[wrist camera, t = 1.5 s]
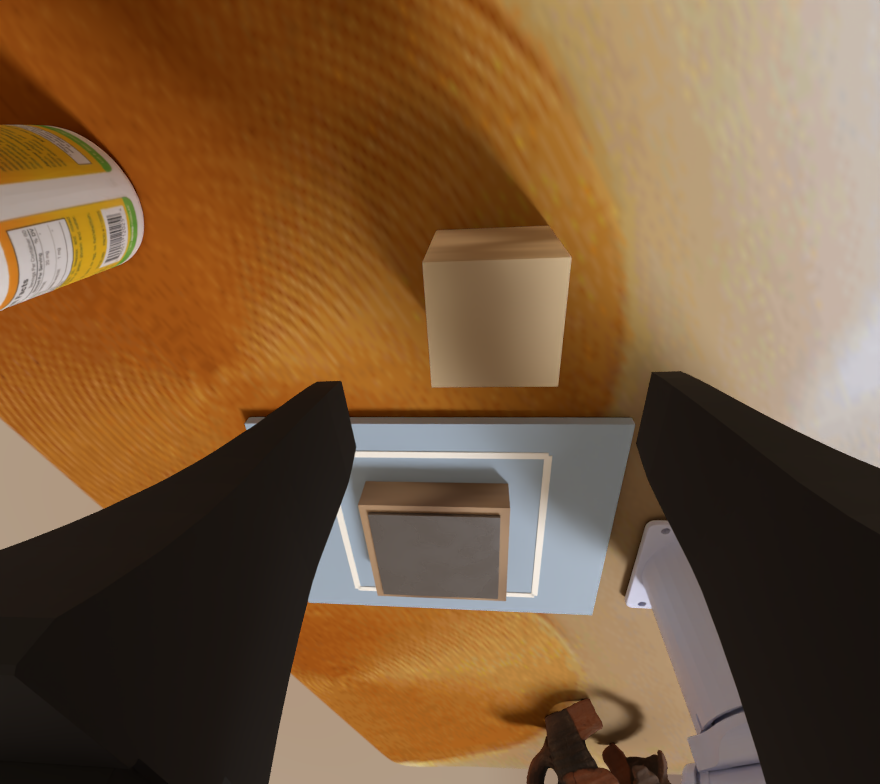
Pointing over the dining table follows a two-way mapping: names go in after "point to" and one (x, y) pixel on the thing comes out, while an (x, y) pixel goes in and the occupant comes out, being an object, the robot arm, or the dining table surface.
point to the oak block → (496, 306)
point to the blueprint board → (567, 508)
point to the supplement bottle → (60, 211)
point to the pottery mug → (577, 771)
